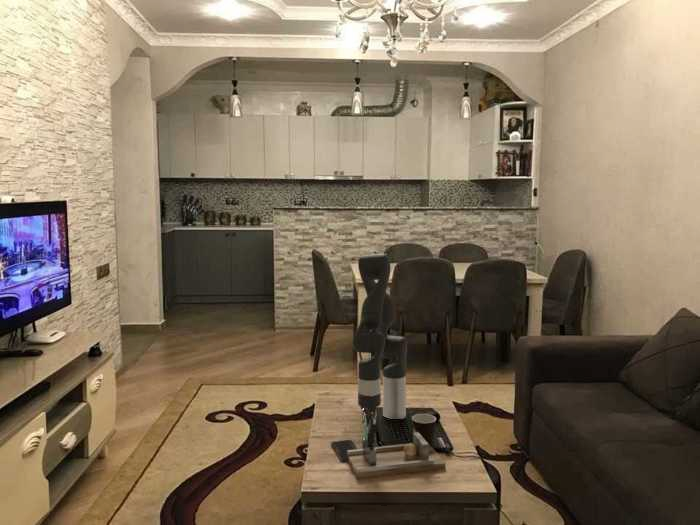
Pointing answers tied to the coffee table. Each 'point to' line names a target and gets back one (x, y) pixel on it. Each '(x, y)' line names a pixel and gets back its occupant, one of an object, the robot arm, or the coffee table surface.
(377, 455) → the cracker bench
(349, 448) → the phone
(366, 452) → the moving jaw
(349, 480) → the coffee table surface
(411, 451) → the nut
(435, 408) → the coffee table surface
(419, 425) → the coffee mug
